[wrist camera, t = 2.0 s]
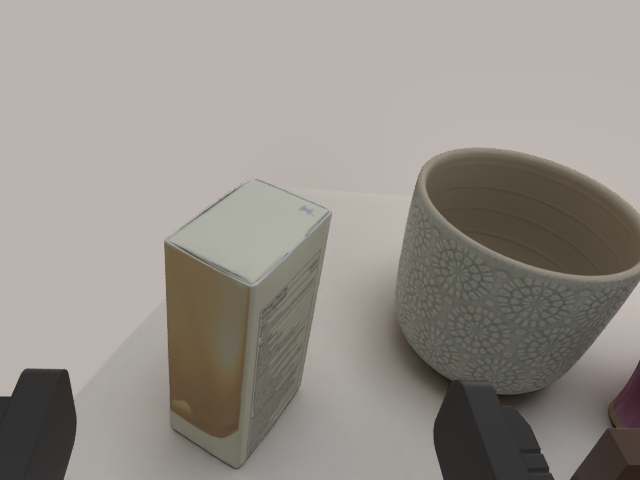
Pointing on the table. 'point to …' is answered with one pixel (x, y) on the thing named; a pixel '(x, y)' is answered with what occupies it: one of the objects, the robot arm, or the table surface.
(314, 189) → the table surface
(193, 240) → the cosmetic box
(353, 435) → the table surface
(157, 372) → the table surface
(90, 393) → the table surface
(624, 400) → the high heel
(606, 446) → the brown wooden box
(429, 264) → the planter
